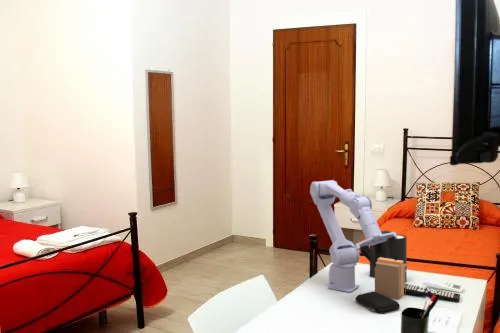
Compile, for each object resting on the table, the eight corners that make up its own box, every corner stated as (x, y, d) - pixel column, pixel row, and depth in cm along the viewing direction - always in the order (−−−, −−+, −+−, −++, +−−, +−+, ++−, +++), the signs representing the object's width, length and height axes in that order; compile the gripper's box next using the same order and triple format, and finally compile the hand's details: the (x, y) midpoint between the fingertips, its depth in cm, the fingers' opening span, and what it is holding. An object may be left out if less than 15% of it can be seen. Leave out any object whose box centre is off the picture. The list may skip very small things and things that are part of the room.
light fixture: (395, 285, 200) (394, 240, 198) (369, 276, 211) (369, 233, 210) (412, 280, 205) (412, 236, 203) (386, 272, 216) (386, 230, 215)
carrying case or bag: (350, 302, 184) (377, 316, 171) (350, 294, 184) (377, 307, 170) (374, 297, 188) (402, 310, 175) (374, 289, 188) (402, 301, 175)
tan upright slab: (398, 299, 184) (398, 264, 183) (374, 294, 190) (374, 260, 189) (406, 293, 191) (406, 258, 189) (383, 288, 196) (383, 255, 195)
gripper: (351, 229, 177) (366, 265, 170) (391, 216, 178) (407, 252, 171) (350, 236, 183) (364, 272, 176) (388, 224, 184) (404, 259, 177)
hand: (385, 262), depth 174 cm, fingers open, 7 cm apart
